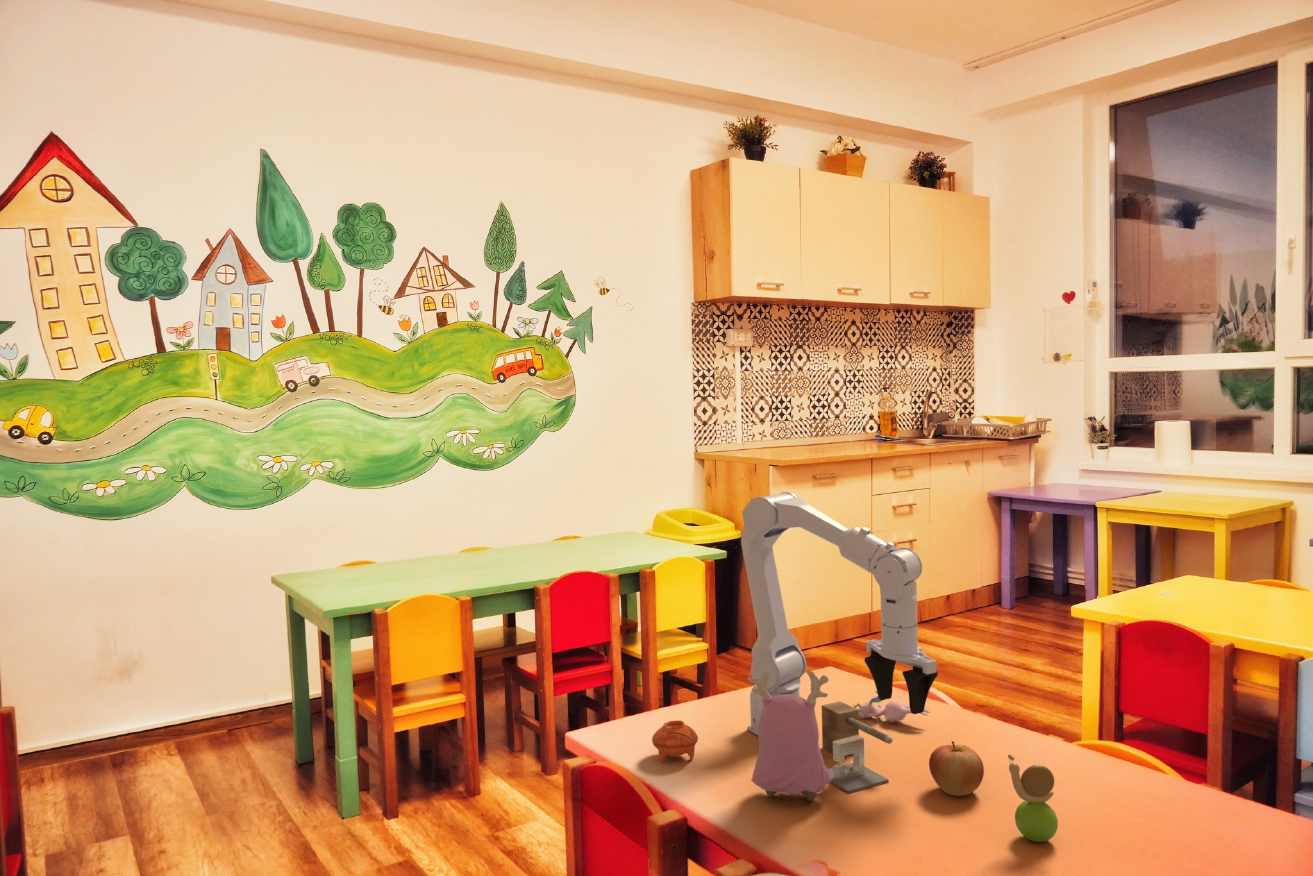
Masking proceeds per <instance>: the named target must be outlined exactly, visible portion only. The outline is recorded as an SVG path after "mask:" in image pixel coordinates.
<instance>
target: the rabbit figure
mask: <svg viewBox="0 0 1313 876" xmlns="http://www.w3.org/2000/svg"><path fill="white" fill-rule="evenodd" d="M875 693H876V694H877V696H874V697H872V698H871V699H870V700H869V701H868V702H867V701H866V702H865V703H863V704H861V703H859V702H858V703H857V704H856V705H855V704H853V706H852V707H853V708H856V709H858V719H860V720H861V719H862V720H864V719H865V720H866V719H870V718H872V717H873V718H880V717H882V716H884V719H885V720H886V721H887V722H889V723H896V722H897V721H899V722H900V721H904V719H905V718H906V717H907V715H909V714H912V713H911V711H910V705H909V704H905V703H903V702H902V701H898V700H892V701H889V702H888V703H887V704H886V705H885V707H884V706H883V705H882V704H880V703H881V702H883V700H880V699H879V696H878V693H877V690H875ZM873 703H876V704H877V703H879V704H878V705H877V706H878V707H876V706H875V705H874V704H873ZM930 713H931V712H930V711H929V709H927V707H926V706H925V707H924V711H923V712H922V713H918V714H921V715H924V716H926V717H927V716H928V714H930Z"/></svg>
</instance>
